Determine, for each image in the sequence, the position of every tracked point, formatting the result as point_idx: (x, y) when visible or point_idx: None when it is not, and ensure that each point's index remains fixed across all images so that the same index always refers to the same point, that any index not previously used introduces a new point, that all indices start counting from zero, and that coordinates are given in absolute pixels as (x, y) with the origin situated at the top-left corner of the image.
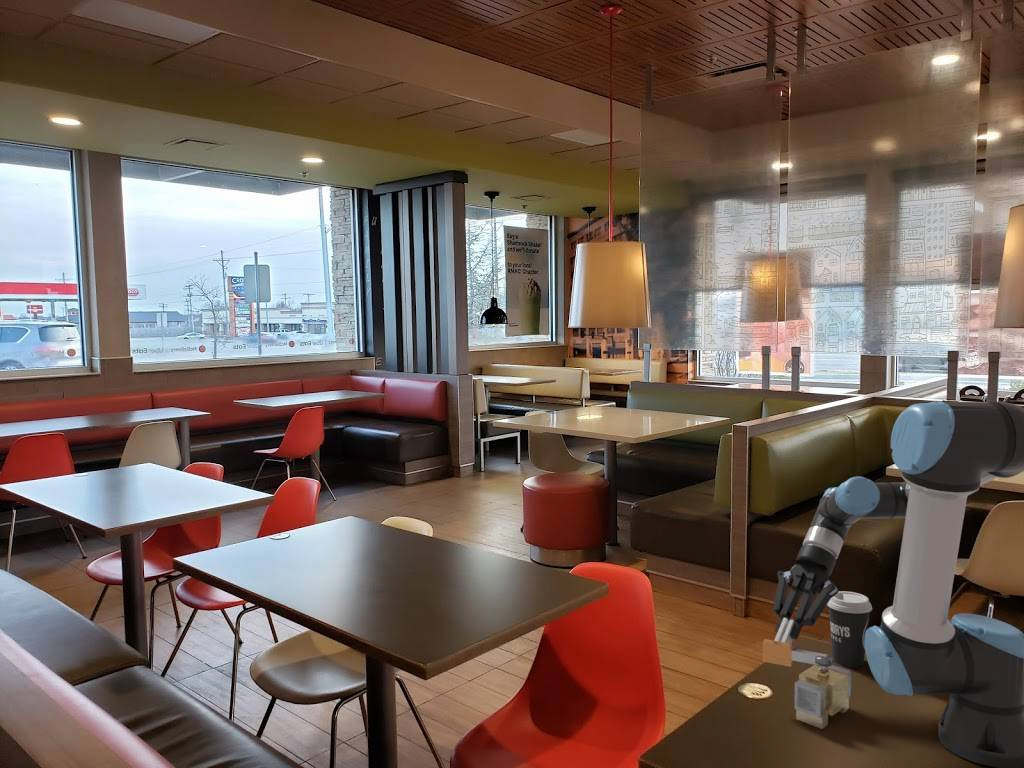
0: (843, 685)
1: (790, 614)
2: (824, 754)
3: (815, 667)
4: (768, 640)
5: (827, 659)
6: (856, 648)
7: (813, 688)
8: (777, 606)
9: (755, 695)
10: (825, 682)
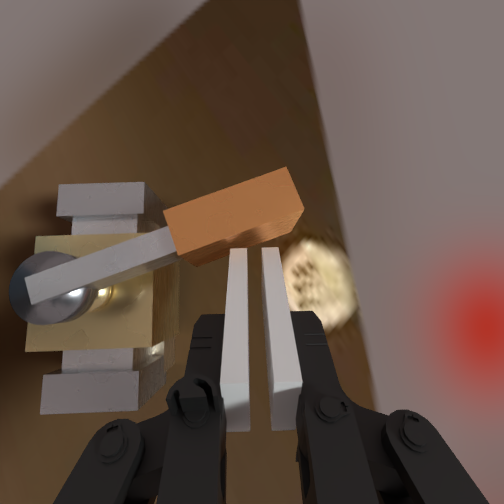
0: None
1: (306, 496)
2: (72, 143)
3: (138, 326)
4: (281, 206)
5: (24, 276)
6: None
7: (84, 188)
8: (427, 472)
9: (301, 260)
10: (63, 239)
